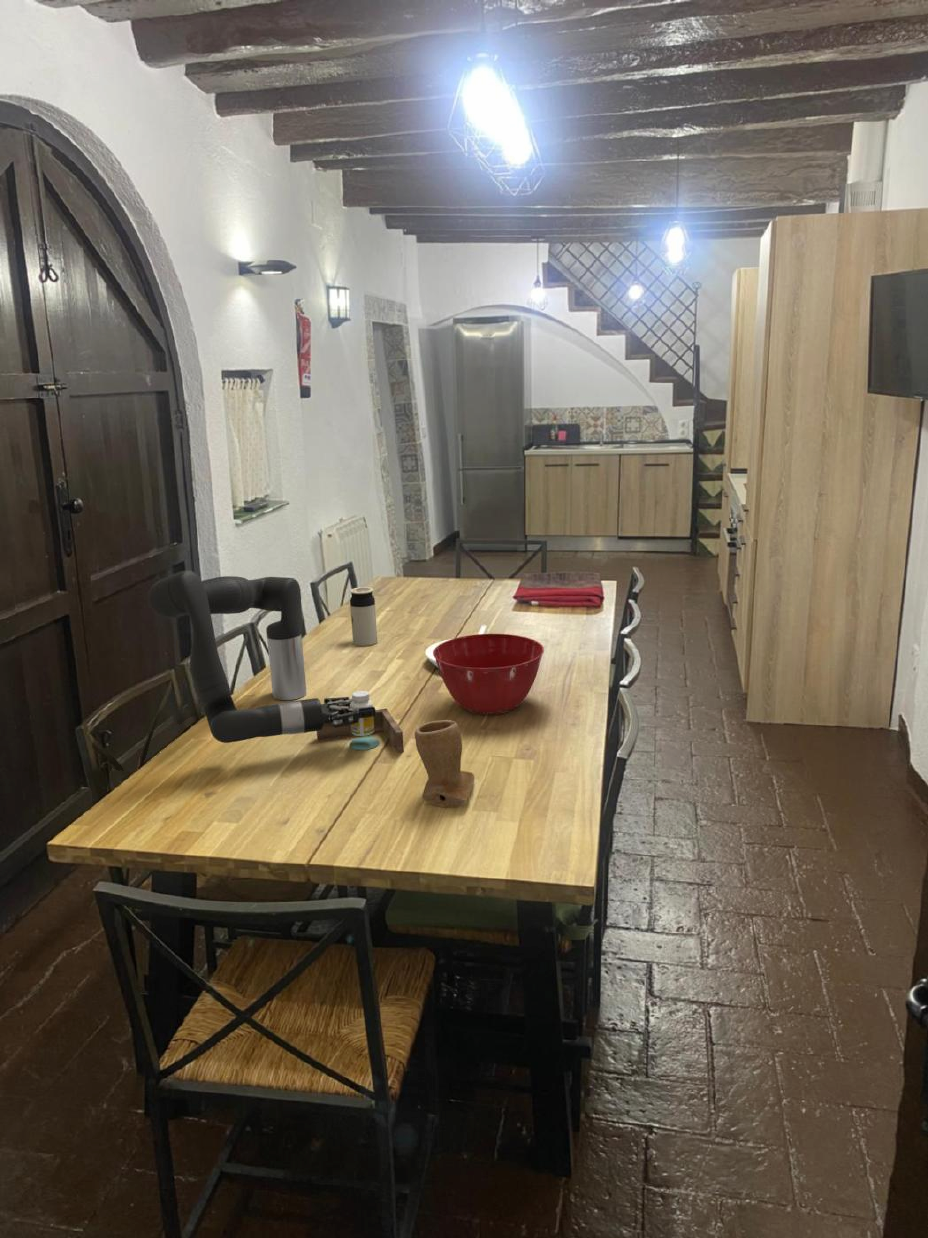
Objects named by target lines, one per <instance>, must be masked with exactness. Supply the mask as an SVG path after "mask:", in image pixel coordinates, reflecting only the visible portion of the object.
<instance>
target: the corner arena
mask: <svg viewBox="0 0 928 1238" xmlns="http://www.w3.org/2000/svg"><path fill="white" fill-rule="evenodd" d="M375 712H376V715H375V716H373V719H374V732H373V733H377V732H381V731H382V730H383V733H384V734H385V736H386V735H387V736H386V738H387V739H388V741H389V742H390V744H391V745H392V746H393V748H394V749H396V750H395V751H396V752H397V754H398V753H404V752H405V748H404V734H403V733H404V731H403V730H402V729H401V727H400V726H399V725H398V723H397V721H396V720H395V719H394V718H393V716H392V714H391V713H390V711H389V710H388V709H387V708H382V709H375ZM349 721H351V720H349ZM376 731H377V732H376ZM350 735H351V736H354V735H353V734H352V732H351V725H346V726H341V727H337V728H335V727H334V723H324V724H323V728H322V730H320V731H316V739H317V741H318V742H319V741H325V740H326V741H327V740H331V739H339V738H344V737H345V738H346V737H351V736H350ZM379 745H380V740H379V739H378V738H375V737H370V736H361V737H358V738H355V739H352V740H351V742H349V747H350V748H351V749H352V750H356V749H357V751H368V750H367V749H369V750H372V749H374V748H377V747H378V746H379Z"/></svg>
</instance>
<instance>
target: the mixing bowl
mask: <svg viewBox="0 0 928 1238" xmlns="http://www.w3.org/2000/svg"><path fill="white" fill-rule="evenodd" d="M450 639H451V640H449V639H447V640H448V641H446V642H443V643H441V644H440V645H438V646H437V647H436V648H435V649H434V651H433V656H434V657H435V659H436V662H437V666H438V672H439V674H440V676H441V679H442V681H443V683H444V685H445V687H446V688H447V690H448V692H449V694H450V696H451V697H452V699H453V700H454V701H455V702H456V703H457V704H458V705H459V706H460V707H462V708H463V709H465V710H467V711H469V712H470V713H474V714H478V715H500V714H503V713H504V714H505V713H508V712H510V711H512V710H513V709H515V708H516V707H518V706H519V705H520V704H521V703H522V702H524V700H525V699H526V698H527V696H528V694H529V692H530V691H531V689H532V687H533V684H534V683H535V680H536V677H537V675H538V671H539V668H540V664H541V661H542V657H543V655H544V652H545V649H544V646H543V645H542V644H541V643H540V642H539V641H537V640H535V639H532V638H529V637H526V636H521V635H517V634H508V633H484V634H477V633H476V634H470V635H463V636H459V637H456V638H450Z"/></svg>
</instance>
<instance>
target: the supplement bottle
mask: <svg viewBox="0 0 928 1238" xmlns="http://www.w3.org/2000/svg"><path fill="white" fill-rule="evenodd" d="M351 699H352V700H353V702H351V703H350V709H356V708H357V709H359V708H365V707H374V706H373V704H374V703H373V702H372V701H371V700H370V693H369V692H368V691H367V690H357V691H354V692H352V694H351ZM369 700H370V701H369ZM358 721H359V722H358V723H355V724H351V732H352V734H353V735H352V736H356V737H368V736H369V735H373V733H375V732H374V719H373V717H366V718H360V720H358Z"/></svg>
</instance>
